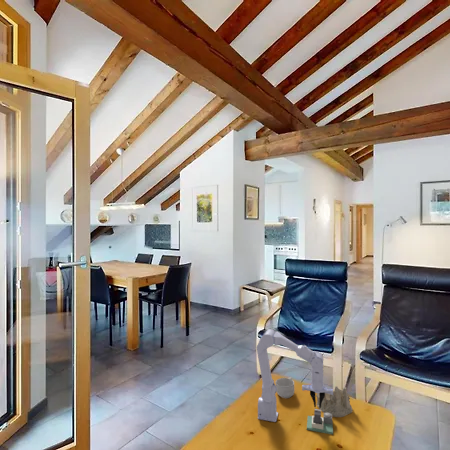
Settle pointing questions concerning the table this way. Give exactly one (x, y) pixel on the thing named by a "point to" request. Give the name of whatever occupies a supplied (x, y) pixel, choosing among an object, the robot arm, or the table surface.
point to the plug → (317, 416)
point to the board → (325, 424)
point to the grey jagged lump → (336, 403)
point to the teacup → (285, 387)
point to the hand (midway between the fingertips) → (317, 406)
